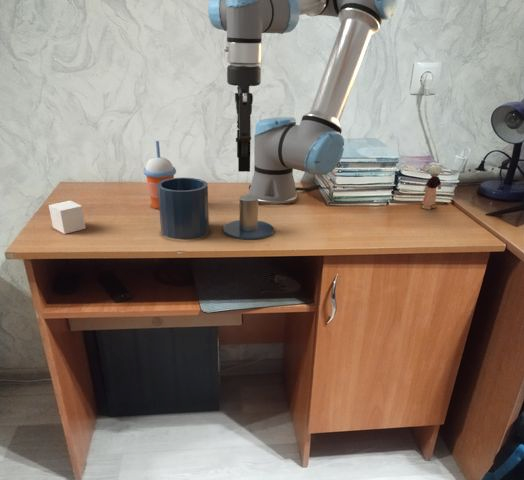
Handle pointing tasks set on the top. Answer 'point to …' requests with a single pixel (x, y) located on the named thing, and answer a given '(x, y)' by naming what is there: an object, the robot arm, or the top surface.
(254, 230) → the tin lid
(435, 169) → the grandmother figurine
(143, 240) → the top surface
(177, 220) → the tin
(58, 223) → the white cube
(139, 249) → the top surface
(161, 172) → the cup with straw
